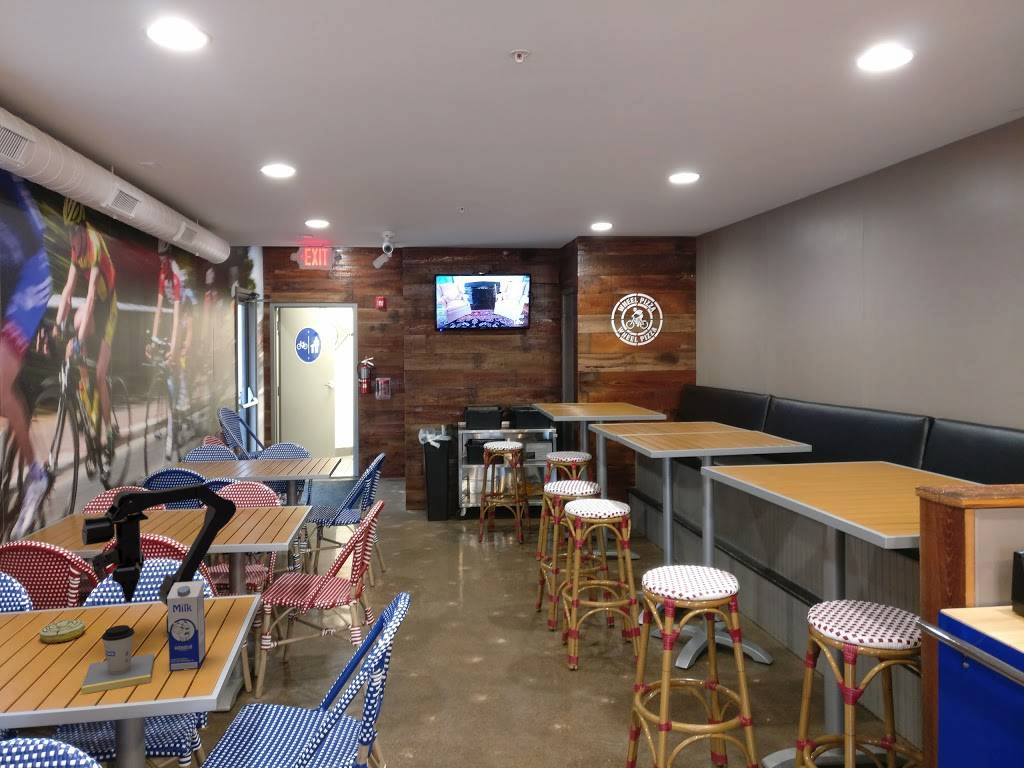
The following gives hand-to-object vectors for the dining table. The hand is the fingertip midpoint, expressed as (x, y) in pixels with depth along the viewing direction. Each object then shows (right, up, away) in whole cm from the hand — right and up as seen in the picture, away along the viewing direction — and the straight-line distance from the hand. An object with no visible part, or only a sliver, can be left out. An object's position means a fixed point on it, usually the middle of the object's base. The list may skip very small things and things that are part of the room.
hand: (130, 596), depth 189 cm
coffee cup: (+7, -12, -18) cm, 23 cm away
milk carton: (+21, -14, -12) cm, 28 cm away
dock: (+7, -14, -18) cm, 24 cm away
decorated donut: (-22, -13, +6) cm, 26 cm away
